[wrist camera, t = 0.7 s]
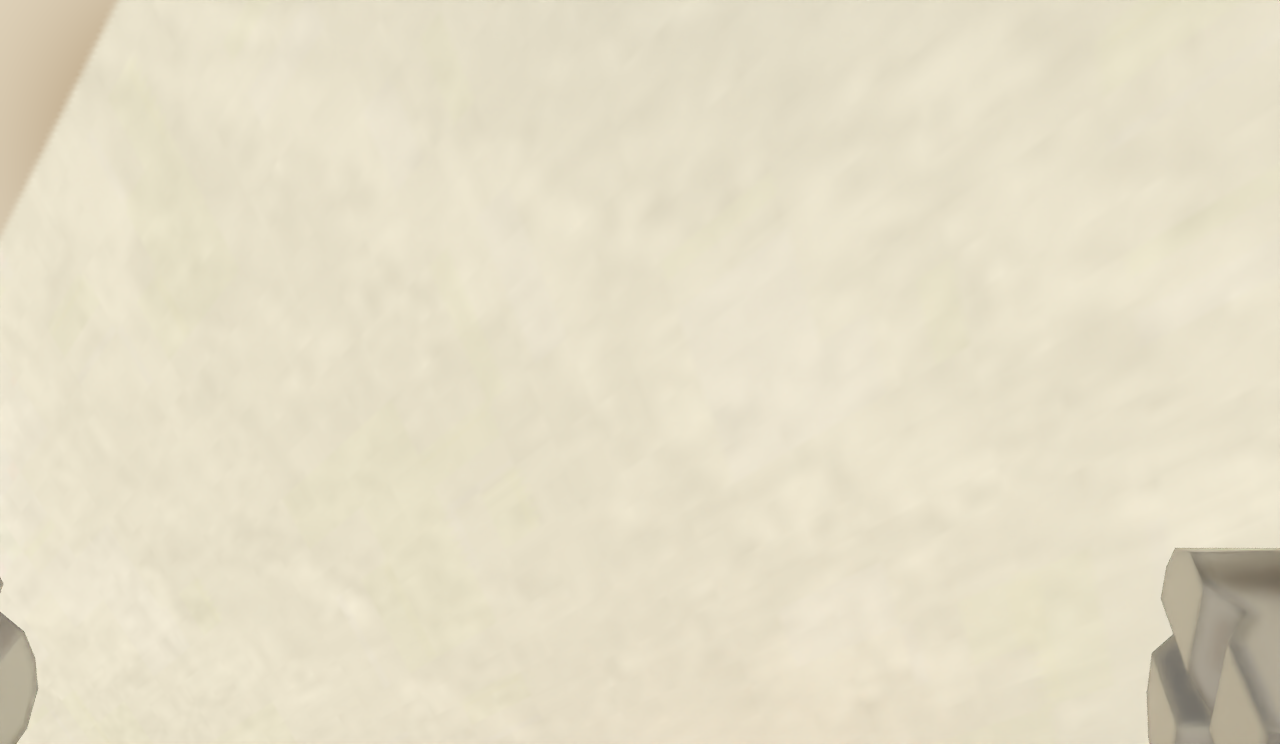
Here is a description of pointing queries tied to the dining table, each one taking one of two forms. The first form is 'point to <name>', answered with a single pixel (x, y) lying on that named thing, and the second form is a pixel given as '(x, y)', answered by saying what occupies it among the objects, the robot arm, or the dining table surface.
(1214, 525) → the dining table surface
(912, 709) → the dining table surface
